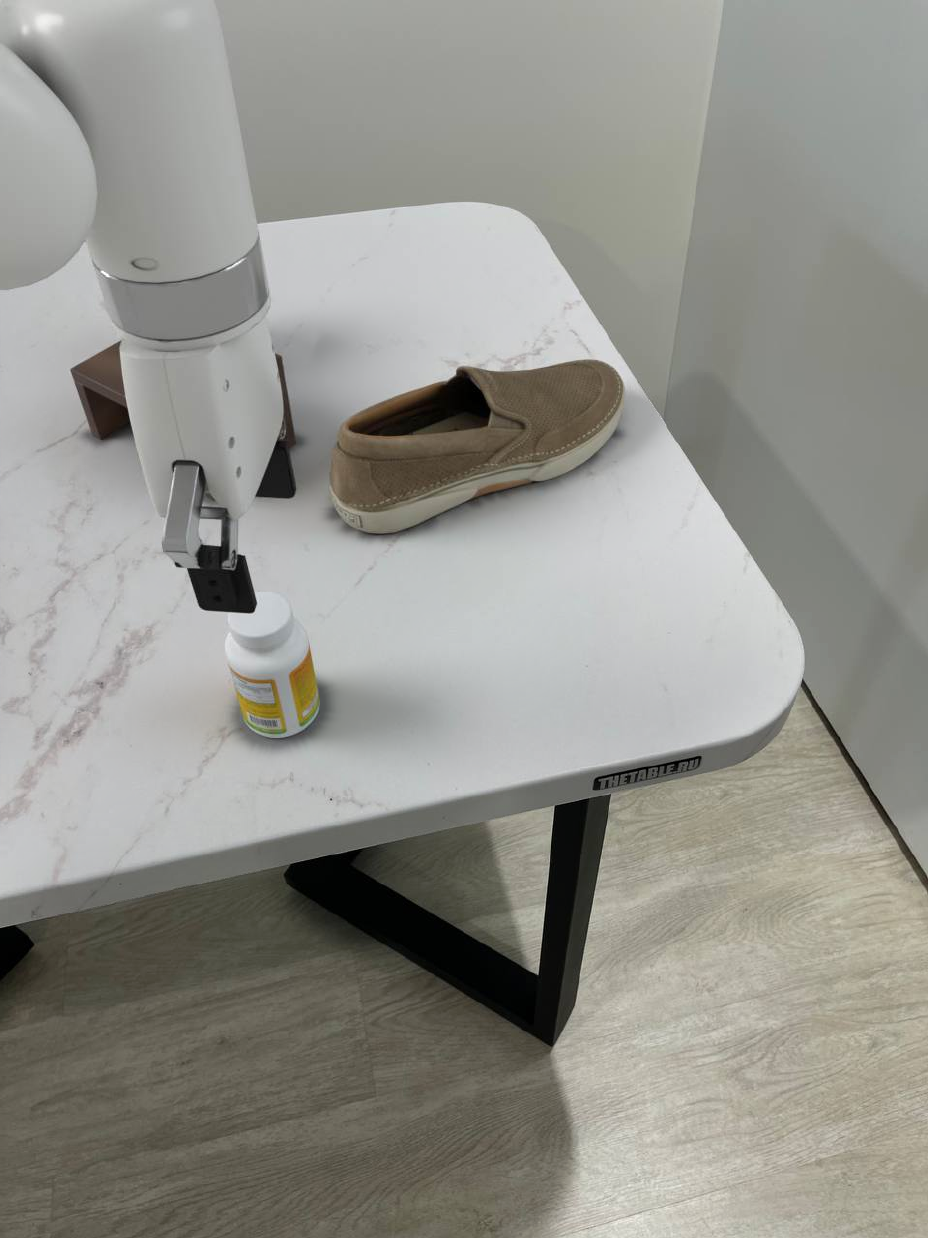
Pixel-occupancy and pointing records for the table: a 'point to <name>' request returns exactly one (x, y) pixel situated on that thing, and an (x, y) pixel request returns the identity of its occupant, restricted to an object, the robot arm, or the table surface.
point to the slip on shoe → (470, 440)
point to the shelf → (108, 402)
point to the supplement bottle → (272, 668)
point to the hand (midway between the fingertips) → (251, 548)
